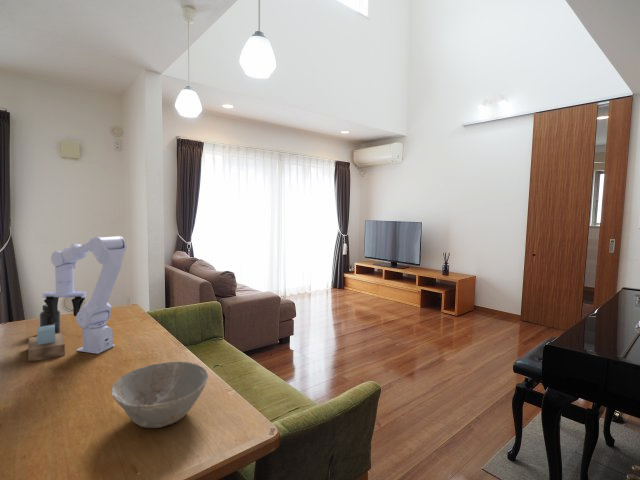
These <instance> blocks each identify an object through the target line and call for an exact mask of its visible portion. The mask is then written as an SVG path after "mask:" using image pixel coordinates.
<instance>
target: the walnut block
mask: <svg viewBox="0 0 640 480" xmlns="http://www.w3.org/2000/svg"><path fill="white" fill-rule="evenodd" d="M65 355H66V347H65V338H64V333H63V332H59V333H57V334H55V342H52V343H46V344H40V345H37V336H33V337H32V336H31V337H29V338H28V345H27V356H28V357H27V360H28V362H34V361H39V360H45V359H49V358H56V357H60V356H62V357H63V356H65Z"/></svg>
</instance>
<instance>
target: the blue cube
mask: <svg viewBox="0 0 640 480" xmlns="http://www.w3.org/2000/svg"><path fill="white" fill-rule="evenodd" d="M36 329H37V330H36V337H37V345H40V344H46V343H52V342H55V325H49V326H42V327H40V326H37V327H36Z"/></svg>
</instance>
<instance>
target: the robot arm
mask: <svg viewBox="0 0 640 480" xmlns="http://www.w3.org/2000/svg"><path fill="white" fill-rule="evenodd" d="M126 251H127V244H126V241H125V239H124V237H122V236H121V235H115V236H114V235H113V236H94V237H91V238H90V239H89V240H88V241H86V242H85V243H83V244H79V243H72V244H71V245H70V247H64V248H63V250H55V251H53V252H52V253H51V255H50V261H51V264H52V265H53V266H54V272H55V273H54V275H55V277H54V278H55V280H54V281H55V282H54V283H55V291H45V292H43V293H42V298H43V299H44V300H43V301H44V303H45V305H46V304H47V305H48V307H49V309H50V311H51V314H52V316H56V315H57V313H58V304H59V298H71V303H72V309H73V317H75V321H76V324H77V325H78V326H79V327H80V328H82V346H81V347H79V348H78V349H76V351H77V352H81V353H82V352H84V353H90V354H95V355H96V354H100V353H103V352H105V351H107V350H109V349H111V348H114V347H115V346H116V345H115V344H114V331H113V328H112V327H110V326H108V325H107V324H108V321H109V320H110V319H111V315H112V313H111V312H112V305H111V304H110V303H109V302H108V301H109V299H110V296H111V294H112V292H113V289H114V286H115V283H116V281H117V278H118V275H119V273H120V271H121V268H122V264H123V258H124V256H125V254H126ZM88 253H92V255H93V256H94V257H95V259H96V261H97V262H98V263H99V264H101V265H102V267H101V270H100V273H99V275H98V278H97V281H96V284H95V286H94V289H93V291H92V294H91V297H90V300H89V301H87V303H85V304H83V303H84V300H85V299H86V297H87V291H77V290H75V281H74V279H75V278H74V276H75V273H74V271H75V268H76V263H77V262H78V261H79V260H83V259H85V257H86V256H87V255H88Z"/></svg>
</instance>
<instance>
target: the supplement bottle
mask: <svg viewBox="0 0 640 480" xmlns="http://www.w3.org/2000/svg"><path fill="white" fill-rule="evenodd" d="M49 325H55V334H58V333H61V311H60V310H58V313H57V315H56V316H52V314H51V311H50V309H49V307H48V305H47V304H46V303H45V304H43V305H42V311H41V312H40V313H39V327H42V326H49Z"/></svg>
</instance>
